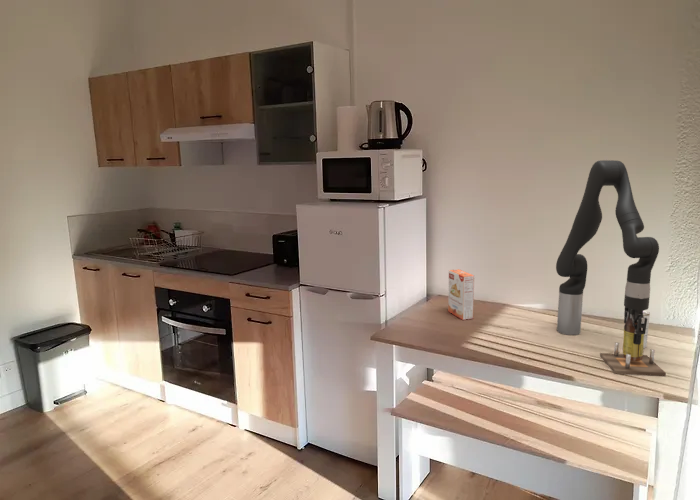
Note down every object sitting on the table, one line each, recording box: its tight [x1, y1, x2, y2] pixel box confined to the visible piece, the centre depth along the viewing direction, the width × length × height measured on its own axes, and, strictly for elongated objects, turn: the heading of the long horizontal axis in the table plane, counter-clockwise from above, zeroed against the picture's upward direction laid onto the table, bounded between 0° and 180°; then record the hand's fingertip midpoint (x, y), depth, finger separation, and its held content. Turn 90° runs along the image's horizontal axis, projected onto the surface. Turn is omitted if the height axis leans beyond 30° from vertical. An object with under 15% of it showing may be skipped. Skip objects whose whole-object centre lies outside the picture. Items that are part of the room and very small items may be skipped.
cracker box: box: [447, 269, 475, 321], centre depth 241 cm, size 14×6×21 cm, turn 17°
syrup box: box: [643, 310, 651, 349], centre depth 199 cm, size 6×6×14 cm
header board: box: [599, 352, 667, 377], centre depth 182 cm, size 16×16×1 cm
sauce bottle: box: [622, 309, 644, 361], centre depth 180 cm, size 7×6×20 cm
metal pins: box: [613, 342, 656, 369], centre depth 182 cm, size 13×11×5 cm
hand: (633, 340), depth 181 cm, fingers closed on sauce bottle, 6 cm apart
